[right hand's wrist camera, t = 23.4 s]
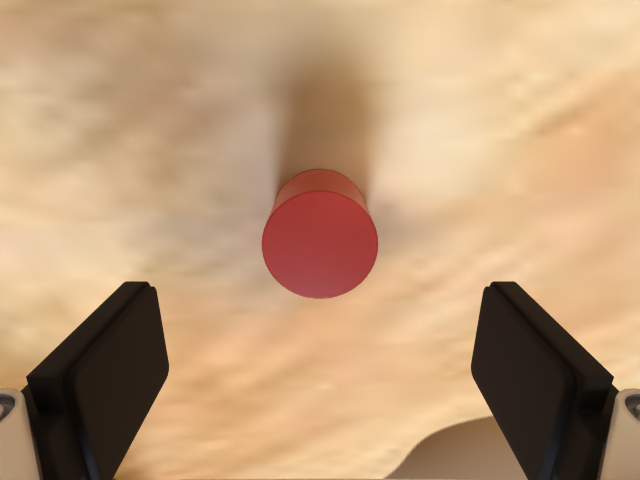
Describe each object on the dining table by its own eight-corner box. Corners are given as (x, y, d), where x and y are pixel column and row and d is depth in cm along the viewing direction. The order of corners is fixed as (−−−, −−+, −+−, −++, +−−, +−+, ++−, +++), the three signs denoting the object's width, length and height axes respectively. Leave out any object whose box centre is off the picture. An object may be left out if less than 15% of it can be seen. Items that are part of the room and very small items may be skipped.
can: (353, 264, 22) (362, 308, 18) (267, 247, 22) (253, 288, 17) (376, 179, 20) (392, 204, 16) (283, 159, 20) (272, 179, 16)
